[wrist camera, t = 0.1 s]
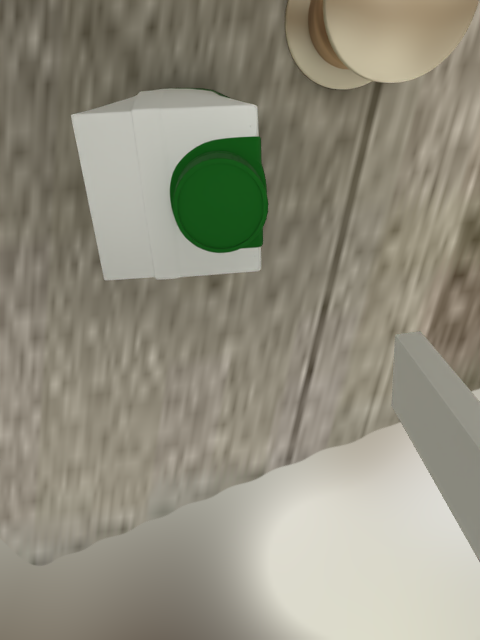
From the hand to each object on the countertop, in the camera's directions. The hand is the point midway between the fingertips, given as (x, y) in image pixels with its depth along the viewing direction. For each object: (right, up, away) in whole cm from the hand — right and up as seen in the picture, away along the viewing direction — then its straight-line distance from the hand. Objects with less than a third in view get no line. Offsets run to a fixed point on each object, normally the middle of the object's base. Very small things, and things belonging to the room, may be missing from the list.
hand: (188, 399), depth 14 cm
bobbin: (+9, +24, +19) cm, 32 cm away
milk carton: (-3, +16, +22) cm, 28 cm away
